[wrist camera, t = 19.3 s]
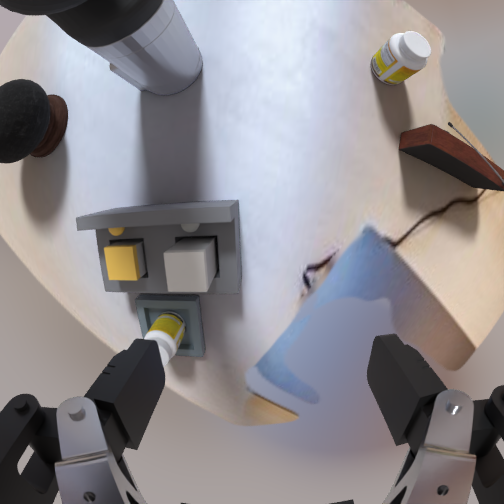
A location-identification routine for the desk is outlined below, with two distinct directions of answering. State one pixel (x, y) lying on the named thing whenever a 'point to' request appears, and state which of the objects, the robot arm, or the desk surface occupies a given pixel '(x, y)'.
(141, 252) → the block
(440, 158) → the radio
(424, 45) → the supplement bottle
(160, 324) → the supplement bottle
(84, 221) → the box
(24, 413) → the robot arm
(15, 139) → the spherical smart speaker
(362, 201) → the desk surface
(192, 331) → the square tray
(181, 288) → the block
